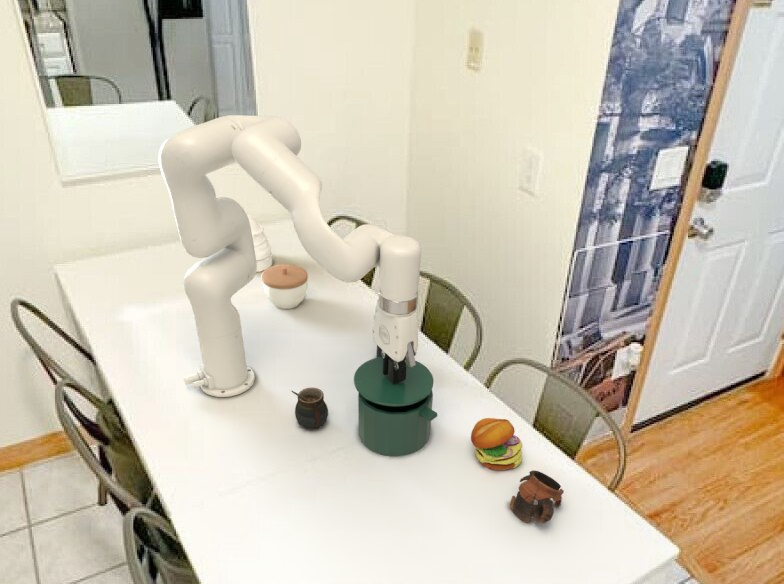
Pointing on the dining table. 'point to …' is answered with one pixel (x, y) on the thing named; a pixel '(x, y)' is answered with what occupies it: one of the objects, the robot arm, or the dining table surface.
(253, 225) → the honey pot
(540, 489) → the brown hollow piece
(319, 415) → the mate gourd
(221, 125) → the robot arm
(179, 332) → the dining table surface
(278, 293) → the lidded bowl
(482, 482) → the dining table surface
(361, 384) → the lid
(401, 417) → the pot
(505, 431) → the cheeseburger
